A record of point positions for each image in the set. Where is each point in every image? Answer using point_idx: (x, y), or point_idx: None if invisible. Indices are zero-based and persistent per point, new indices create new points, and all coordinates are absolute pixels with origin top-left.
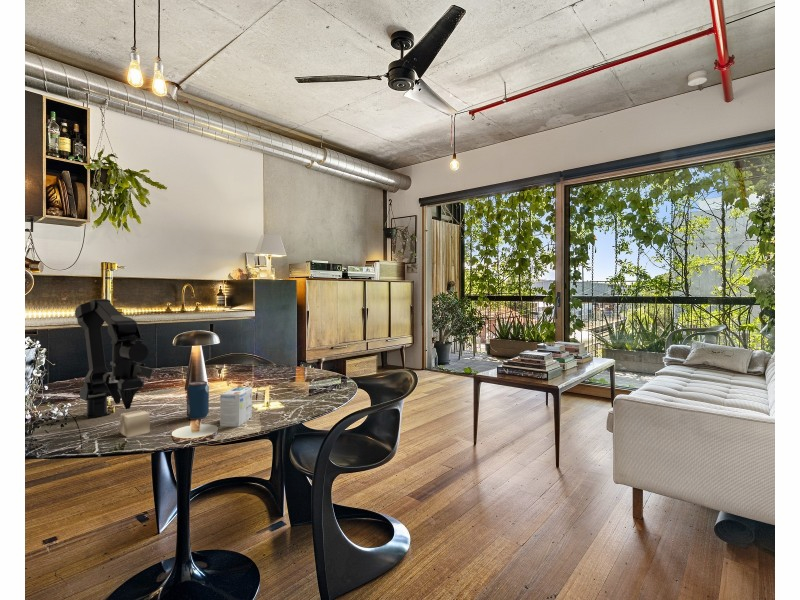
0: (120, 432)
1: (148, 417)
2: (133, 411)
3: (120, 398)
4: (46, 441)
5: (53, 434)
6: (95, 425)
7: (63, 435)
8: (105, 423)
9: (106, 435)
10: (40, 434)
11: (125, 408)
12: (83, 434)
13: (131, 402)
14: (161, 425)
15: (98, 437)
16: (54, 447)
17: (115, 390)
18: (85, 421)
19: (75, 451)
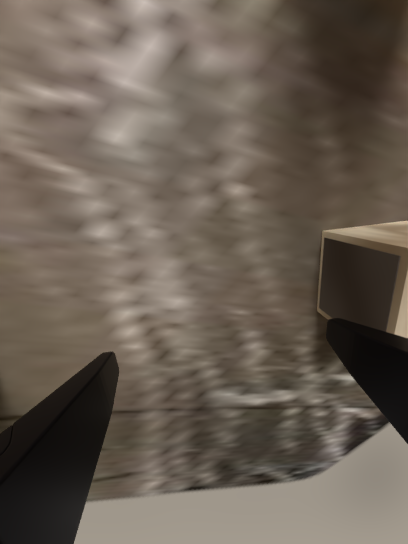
0: (319, 311)
1: None
2: (401, 303)
3: (95, 376)
4: (233, 470)
5: (168, 462)
6: (136, 368)
7: (201, 443)
8: (128, 337)
9: (308, 350)
10: (141, 486)
11: (333, 343)
12: (236, 402)
13: (394, 337)
14: (354, 143)
15: (309, 370)
16: (307, 453)
17: (46, 531)
18: (39, 393)
19: (386, 418)
